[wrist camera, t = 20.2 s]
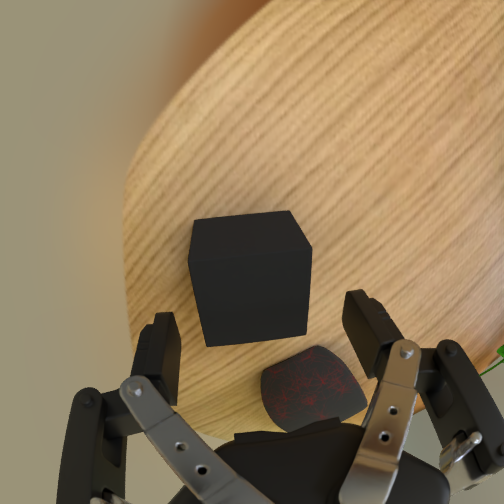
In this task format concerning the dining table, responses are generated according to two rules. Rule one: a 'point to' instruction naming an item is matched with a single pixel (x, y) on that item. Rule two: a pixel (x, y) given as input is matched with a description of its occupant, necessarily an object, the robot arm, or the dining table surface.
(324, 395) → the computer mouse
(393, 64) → the dining table surface
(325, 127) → the dining table surface
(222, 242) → the black block
